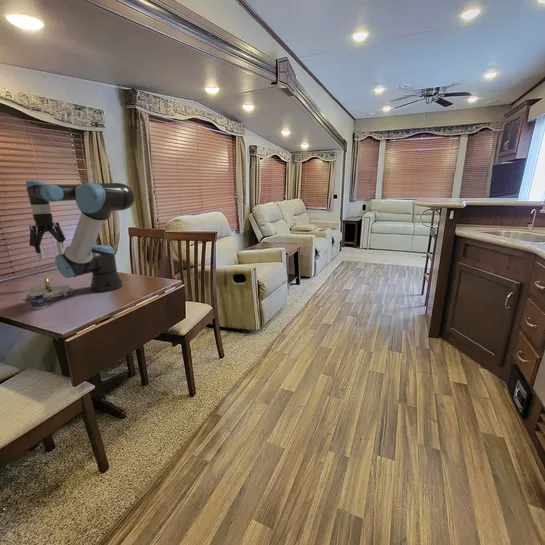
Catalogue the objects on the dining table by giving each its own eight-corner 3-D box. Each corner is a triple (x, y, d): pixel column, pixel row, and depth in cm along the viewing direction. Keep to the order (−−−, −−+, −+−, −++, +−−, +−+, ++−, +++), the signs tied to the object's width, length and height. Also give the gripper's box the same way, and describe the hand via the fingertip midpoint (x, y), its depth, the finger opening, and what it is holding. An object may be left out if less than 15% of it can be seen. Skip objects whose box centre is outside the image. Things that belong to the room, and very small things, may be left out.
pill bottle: (31, 310, 130) (25, 289, 127) (34, 306, 134) (29, 286, 132) (45, 308, 132) (40, 288, 129) (49, 304, 136) (44, 284, 134)
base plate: (81, 290, 153) (81, 290, 153) (48, 303, 137) (48, 303, 137) (54, 288, 158) (53, 287, 157) (19, 300, 141) (18, 299, 141)
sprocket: (81, 289, 153) (79, 277, 151) (48, 302, 136) (45, 289, 134) (53, 286, 158) (51, 274, 156) (18, 299, 141) (14, 286, 139)
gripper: (57, 211, 157) (65, 251, 163) (11, 215, 136) (23, 261, 142) (68, 211, 155) (76, 252, 161) (24, 215, 134) (35, 262, 140)
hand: (51, 256), depth 152 cm, fingers open, 10 cm apart
